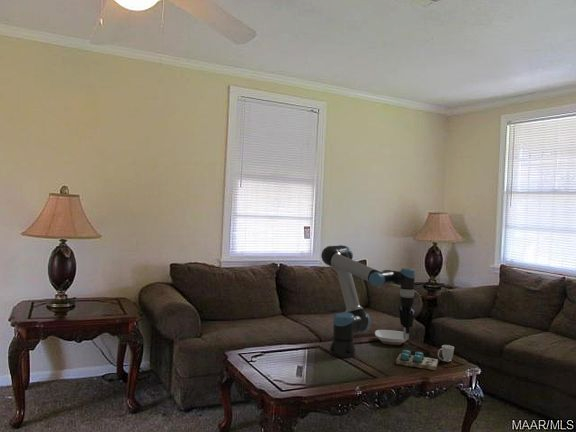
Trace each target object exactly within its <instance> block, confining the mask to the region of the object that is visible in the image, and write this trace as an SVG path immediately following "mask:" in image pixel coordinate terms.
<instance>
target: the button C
mask: <svg viewBox="0 0 576 432" xmlns="http://www.w3.org/2000/svg"><path fill="white" fill-rule="evenodd" d="M413 356H414V357H413V361H414V362H416V363H421V362H422V356H420V355H415V354H414V355H413Z"/></svg>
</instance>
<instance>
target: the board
mask: <svg viewBox="0 0 576 432" xmlns="http://www.w3.org/2000/svg"><path fill="white" fill-rule="evenodd" d="M413 357H414V355H413V354H410V357H409V360H408V361H403V360H401V353H399V355H398V356H397V358H396V360H395V364H396V365H401V366H407V367H412V368H413V367H415V368H420V369H425V370H431V371H436V370H437V367H438V364H439V358H432V357H425V356H423V359H422V362H421V363H416V362H414V361H413Z"/></svg>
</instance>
